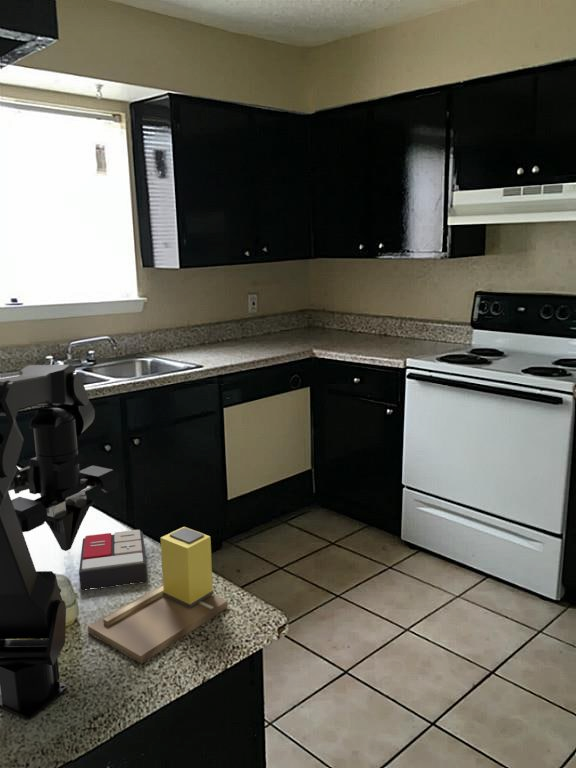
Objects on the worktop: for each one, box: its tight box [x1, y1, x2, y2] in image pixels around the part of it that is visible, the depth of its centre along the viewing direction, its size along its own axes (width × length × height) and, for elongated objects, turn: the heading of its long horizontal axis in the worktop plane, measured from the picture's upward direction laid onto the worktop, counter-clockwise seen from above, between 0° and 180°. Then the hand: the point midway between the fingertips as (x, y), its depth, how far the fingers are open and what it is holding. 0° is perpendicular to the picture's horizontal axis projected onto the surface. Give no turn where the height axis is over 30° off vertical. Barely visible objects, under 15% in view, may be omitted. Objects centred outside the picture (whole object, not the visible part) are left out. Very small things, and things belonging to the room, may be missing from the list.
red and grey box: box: [78, 529, 148, 591], centre depth 118 cm, size 11×4×15 cm
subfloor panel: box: [87, 584, 229, 665], centre depth 101 cm, size 18×12×2 cm
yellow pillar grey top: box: [160, 526, 215, 608], centre depth 105 cm, size 5×6×10 cm
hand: (66, 549), depth 99 cm, fingers closed
